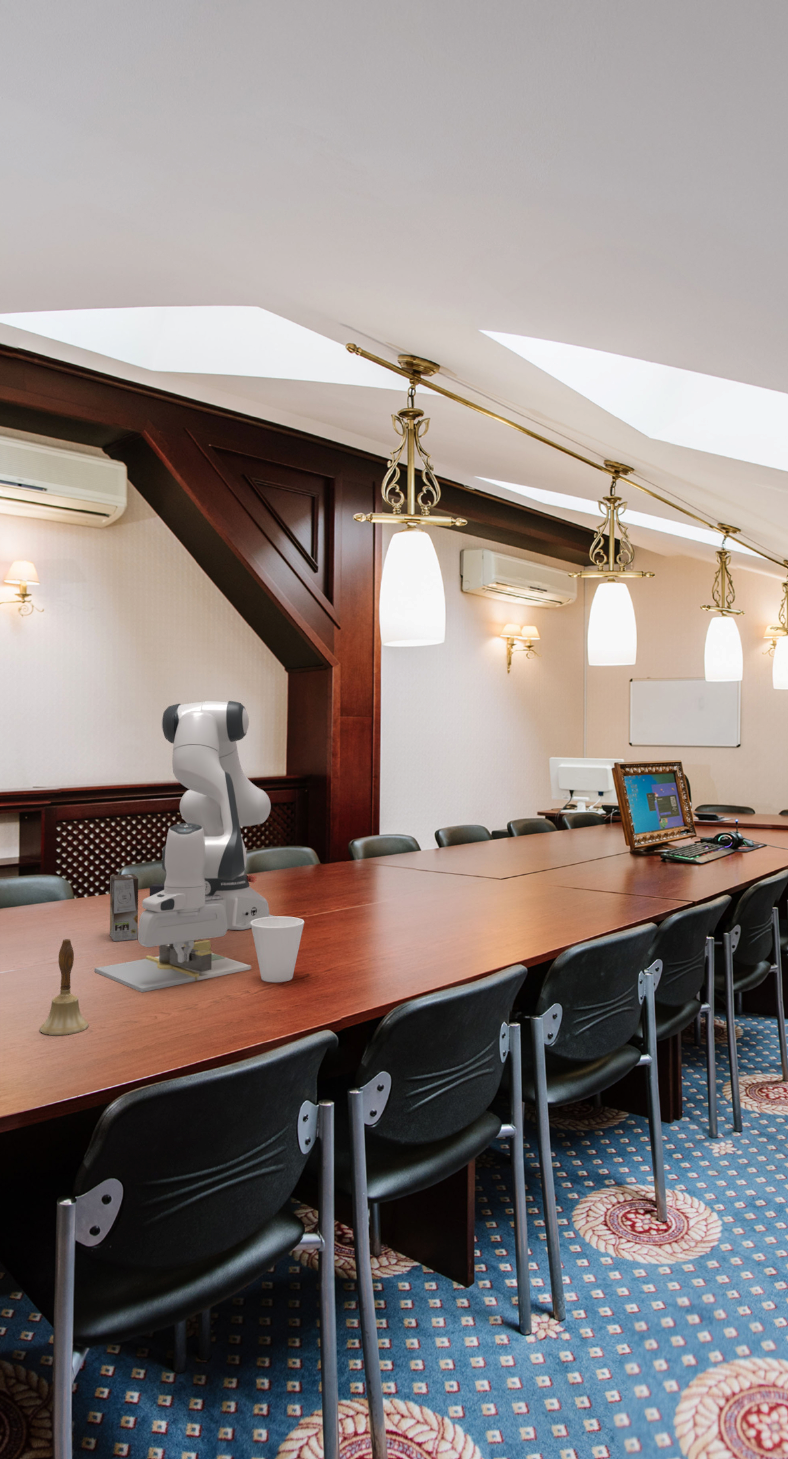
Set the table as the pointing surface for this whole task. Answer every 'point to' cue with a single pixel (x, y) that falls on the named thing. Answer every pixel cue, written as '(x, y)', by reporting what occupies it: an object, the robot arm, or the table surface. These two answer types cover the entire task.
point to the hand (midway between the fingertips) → (183, 962)
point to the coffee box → (123, 907)
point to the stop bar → (196, 958)
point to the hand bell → (65, 1000)
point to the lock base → (167, 971)
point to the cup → (277, 946)
